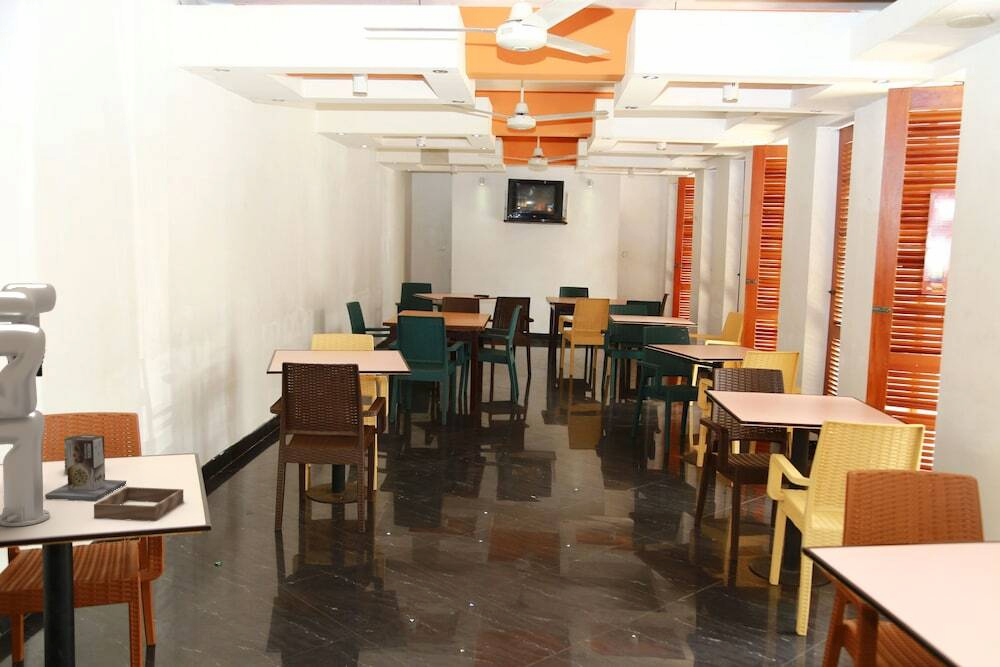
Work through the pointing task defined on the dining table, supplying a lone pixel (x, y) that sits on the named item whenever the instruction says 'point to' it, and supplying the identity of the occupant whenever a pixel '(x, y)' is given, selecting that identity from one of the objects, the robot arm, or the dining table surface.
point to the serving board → (85, 492)
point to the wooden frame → (138, 512)
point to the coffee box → (85, 462)
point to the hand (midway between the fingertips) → (27, 378)
